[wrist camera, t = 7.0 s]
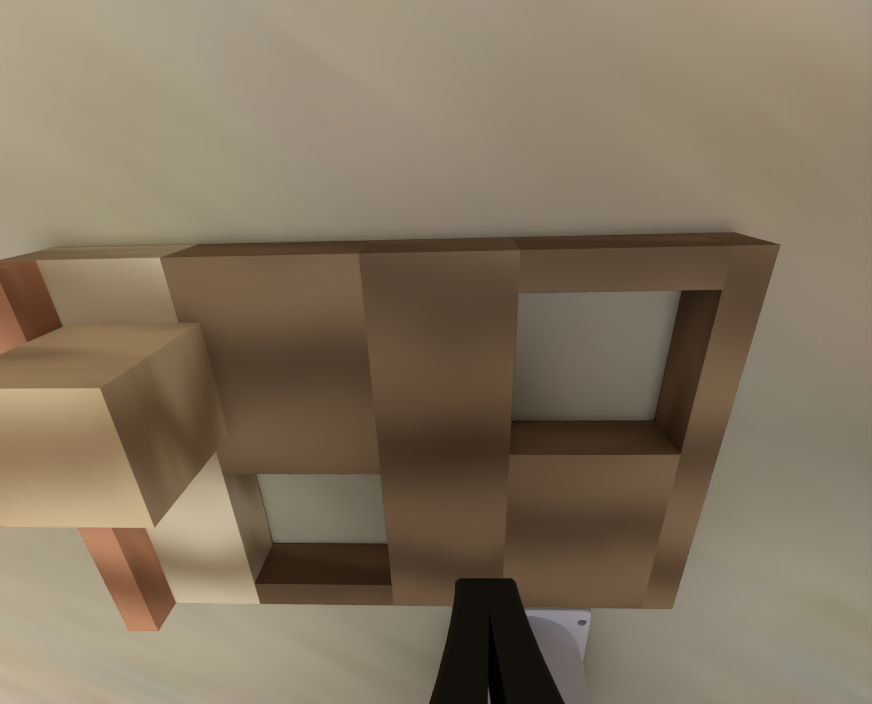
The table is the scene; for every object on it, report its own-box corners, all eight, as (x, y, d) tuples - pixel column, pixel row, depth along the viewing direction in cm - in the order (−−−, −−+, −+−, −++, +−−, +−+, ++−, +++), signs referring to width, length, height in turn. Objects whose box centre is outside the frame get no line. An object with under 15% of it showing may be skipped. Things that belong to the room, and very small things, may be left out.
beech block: (229, 434, 18) (154, 527, 14) (113, 434, 18) (1, 526, 14) (199, 322, 16) (99, 388, 11) (69, 323, 16) (-80, 388, 12)
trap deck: (651, 565, 24) (686, 639, 20) (175, 561, 25) (128, 630, 21) (735, 232, 16) (815, 254, 13) (53, 247, 18) (-50, 271, 14)
